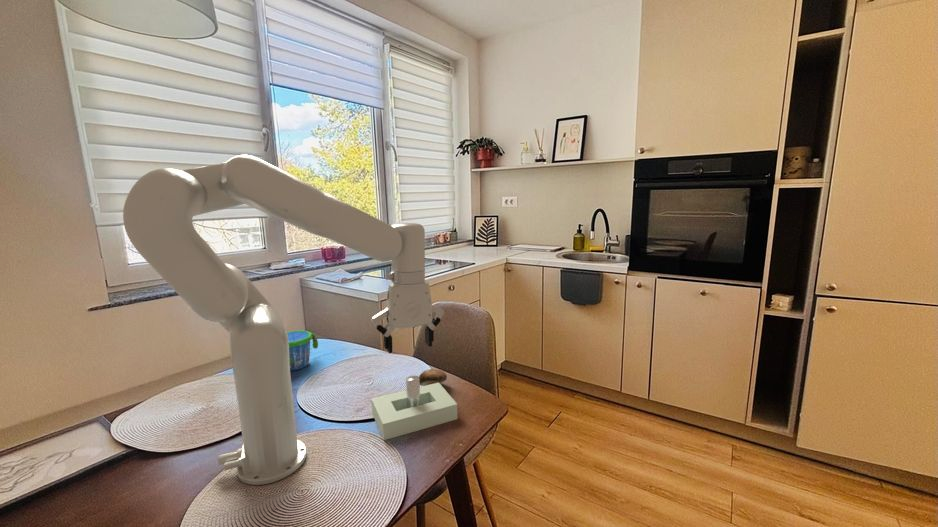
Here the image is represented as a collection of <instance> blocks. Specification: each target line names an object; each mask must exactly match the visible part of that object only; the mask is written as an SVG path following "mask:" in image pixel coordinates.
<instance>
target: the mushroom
mask: <svg viewBox="0 0 938 527" xmlns="http://www.w3.org/2000/svg"><path fill="white" fill-rule="evenodd" d="M418 377H419V381H420V387H422V386H426V385H430V384H434V383H440V384H441V385H442V383H443V382H446V380H447V378H448V376H447V374H446V373H445V372H444V371H443V370H441V369H436V368H435V369H433V368H432V369H426V370H424V371H423V372H421V373H420V374H419V375H418Z"/></svg>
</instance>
